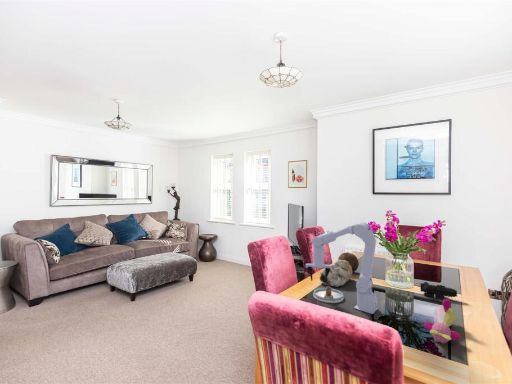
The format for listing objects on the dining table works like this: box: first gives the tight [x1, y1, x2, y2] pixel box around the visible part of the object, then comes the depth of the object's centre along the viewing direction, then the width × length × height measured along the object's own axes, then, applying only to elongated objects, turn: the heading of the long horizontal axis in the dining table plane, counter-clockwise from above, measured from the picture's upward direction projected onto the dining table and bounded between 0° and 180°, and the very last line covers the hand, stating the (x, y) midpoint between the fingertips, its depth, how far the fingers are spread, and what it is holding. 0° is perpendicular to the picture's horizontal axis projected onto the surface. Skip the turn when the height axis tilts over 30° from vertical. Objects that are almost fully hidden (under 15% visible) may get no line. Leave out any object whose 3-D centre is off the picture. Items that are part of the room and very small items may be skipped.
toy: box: [423, 298, 461, 345], centre depth 113 cm, size 12×12×30 cm
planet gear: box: [324, 285, 333, 299], centre depth 147 cm, size 5×5×6 cm
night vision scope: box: [419, 281, 458, 300], centre depth 152 cm, size 8×18×10 cm
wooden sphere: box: [337, 251, 360, 274], centre depth 198 cm, size 15×15×15 cm
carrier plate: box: [312, 287, 344, 304], centre depth 152 cm, size 17×17×4 cm
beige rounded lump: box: [319, 259, 353, 288], centre depth 176 cm, size 16×15×26 cm
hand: (318, 280), depth 152 cm, fingers open, 7 cm apart
